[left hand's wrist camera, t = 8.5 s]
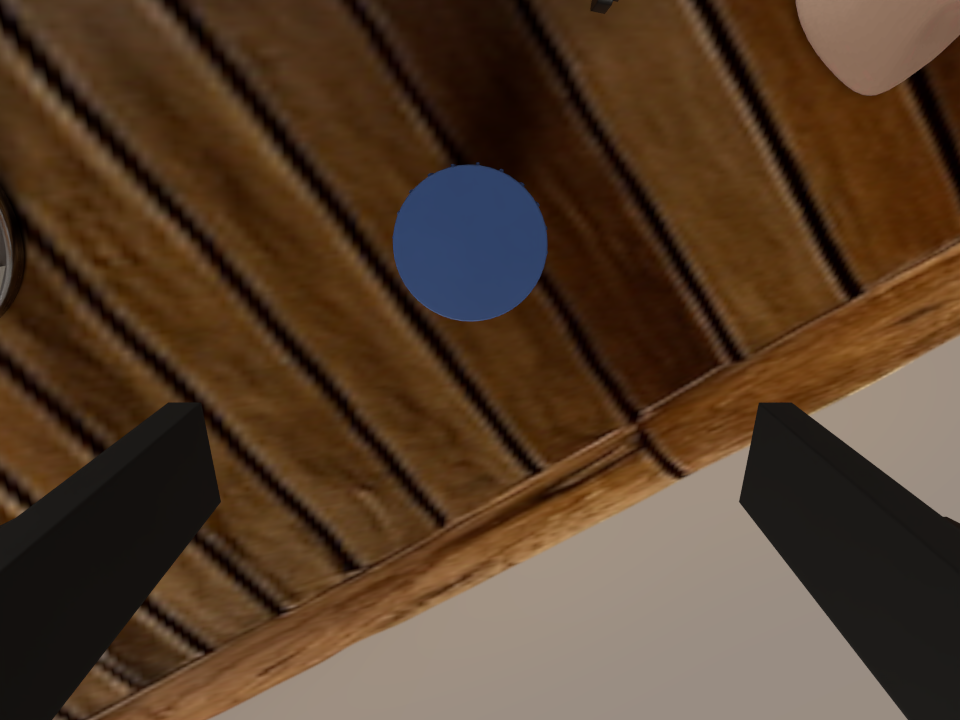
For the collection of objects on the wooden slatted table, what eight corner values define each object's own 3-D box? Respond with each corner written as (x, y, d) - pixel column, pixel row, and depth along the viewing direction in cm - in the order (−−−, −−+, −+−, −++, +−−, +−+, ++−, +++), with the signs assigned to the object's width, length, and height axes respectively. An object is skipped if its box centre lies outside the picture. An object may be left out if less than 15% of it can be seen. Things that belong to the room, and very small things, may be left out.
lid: (415, 145, 19) (409, 143, 17) (561, 186, 19) (569, 187, 18) (386, 290, 21) (377, 302, 19) (520, 324, 21) (523, 339, 19)
